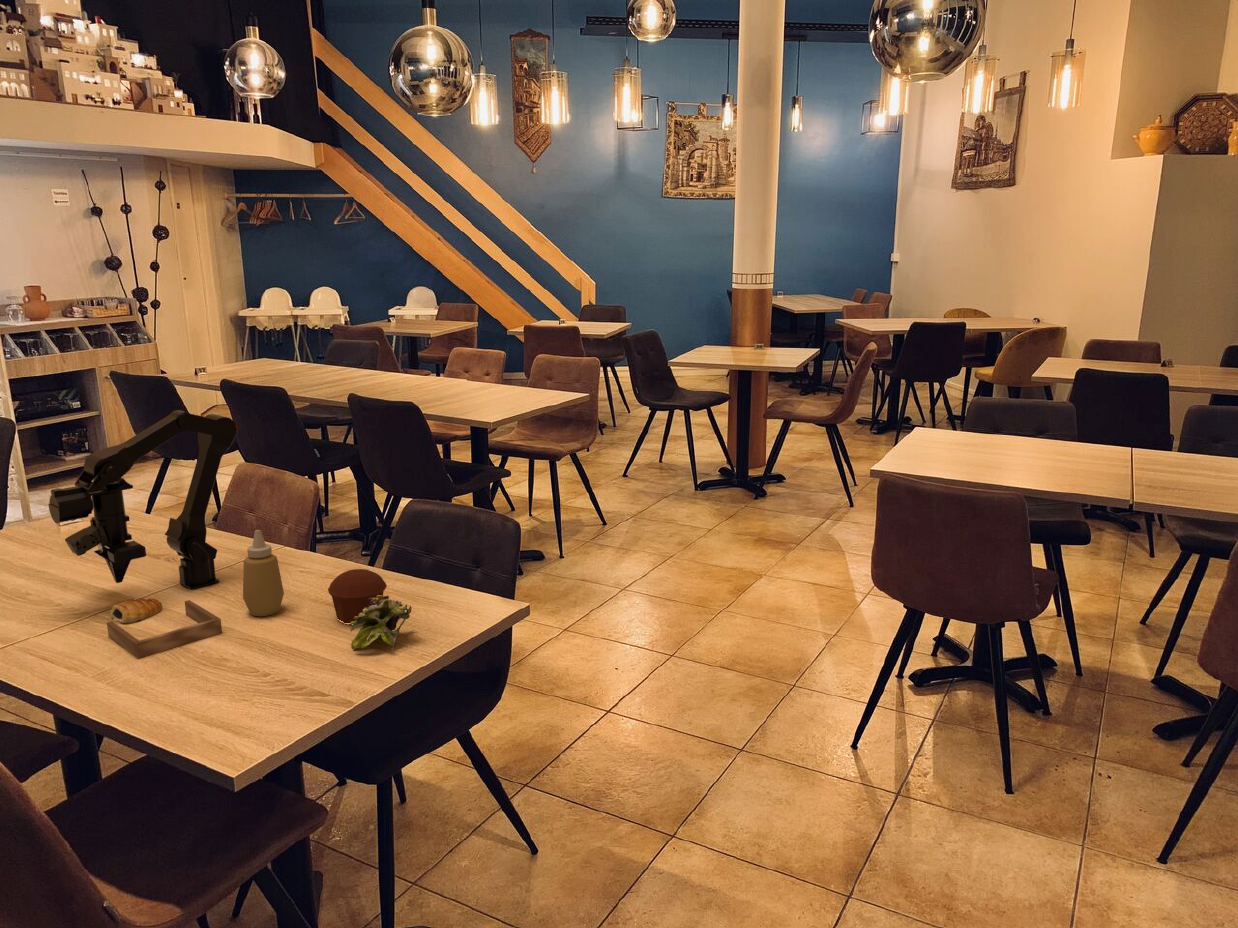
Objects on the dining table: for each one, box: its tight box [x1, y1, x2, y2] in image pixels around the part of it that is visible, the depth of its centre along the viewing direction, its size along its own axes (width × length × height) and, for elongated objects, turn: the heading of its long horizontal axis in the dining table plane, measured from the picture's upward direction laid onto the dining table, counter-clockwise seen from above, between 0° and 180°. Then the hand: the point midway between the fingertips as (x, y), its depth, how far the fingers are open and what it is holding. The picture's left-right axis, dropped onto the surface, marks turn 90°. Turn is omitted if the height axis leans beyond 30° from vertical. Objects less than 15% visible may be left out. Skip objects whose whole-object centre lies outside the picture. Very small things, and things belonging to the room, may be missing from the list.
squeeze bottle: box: [242, 529, 285, 617], centre depth 188 cm, size 8×8×18 cm
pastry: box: [110, 598, 163, 624], centre depth 188 cm, size 9×7×4 cm
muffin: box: [327, 568, 388, 623], centre depth 186 cm, size 12×11×10 cm
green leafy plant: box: [349, 594, 413, 650], centre depth 174 cm, size 11×11×12 cm
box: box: [106, 599, 223, 659], centre depth 178 cm, size 16×14×3 cm
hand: (118, 582), depth 192 cm, fingers closed
